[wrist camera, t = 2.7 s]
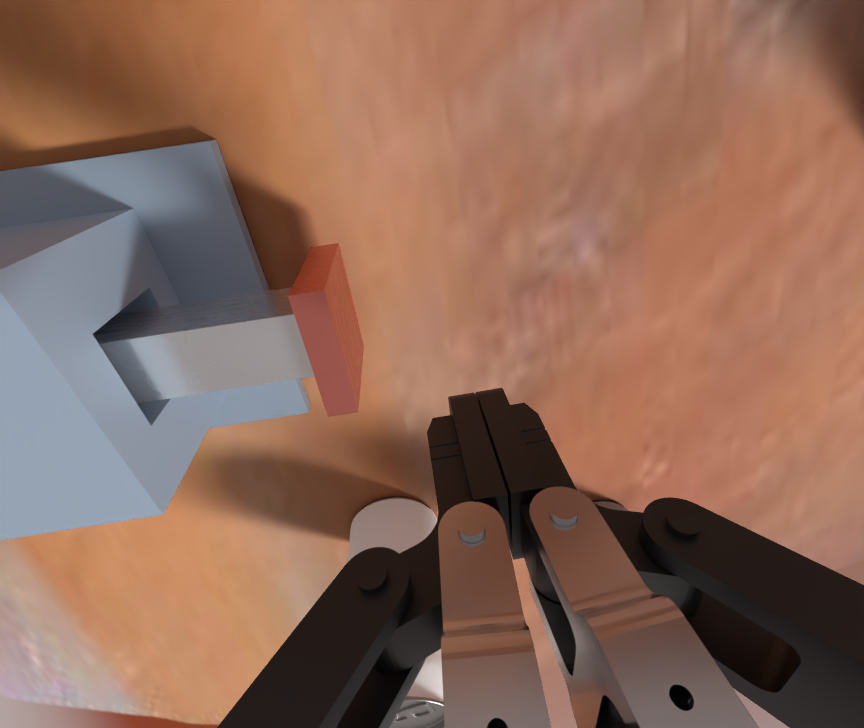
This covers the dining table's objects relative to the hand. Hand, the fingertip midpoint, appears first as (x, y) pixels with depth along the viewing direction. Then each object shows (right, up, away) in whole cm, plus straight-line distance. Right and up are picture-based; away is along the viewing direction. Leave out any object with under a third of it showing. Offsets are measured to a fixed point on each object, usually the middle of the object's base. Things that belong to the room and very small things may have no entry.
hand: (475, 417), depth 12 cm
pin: (-11, +4, +8) cm, 14 cm away
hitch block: (-17, +4, +9) cm, 20 cm away
